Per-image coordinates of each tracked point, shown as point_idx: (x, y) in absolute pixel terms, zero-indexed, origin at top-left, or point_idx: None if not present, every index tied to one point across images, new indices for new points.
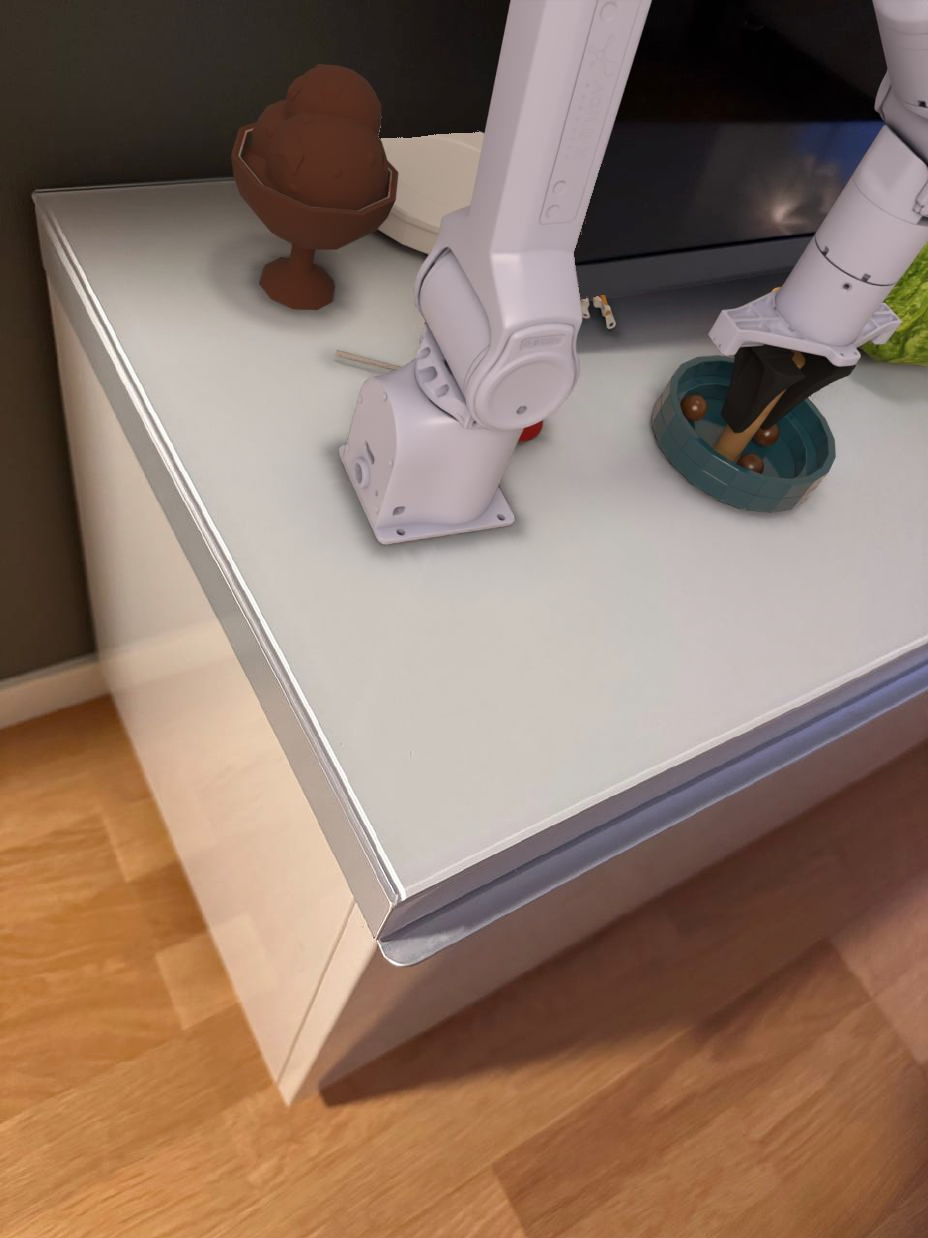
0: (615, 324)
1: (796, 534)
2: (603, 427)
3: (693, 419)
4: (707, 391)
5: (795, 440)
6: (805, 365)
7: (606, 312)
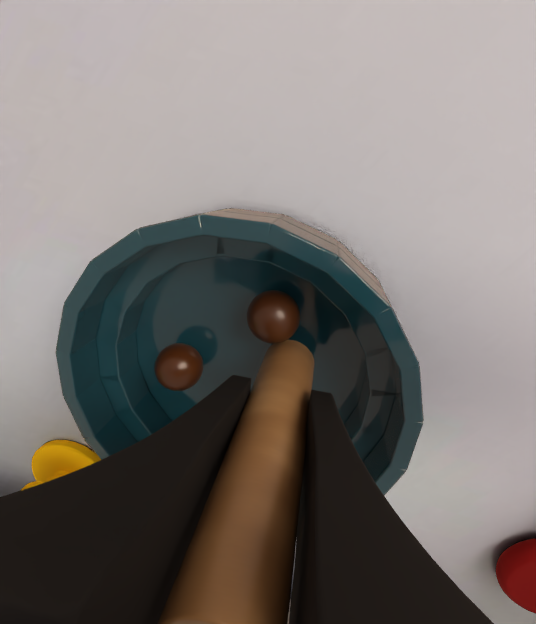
0: None
1: (248, 155)
2: (446, 467)
3: None
4: None
5: (126, 335)
6: (157, 584)
7: None
